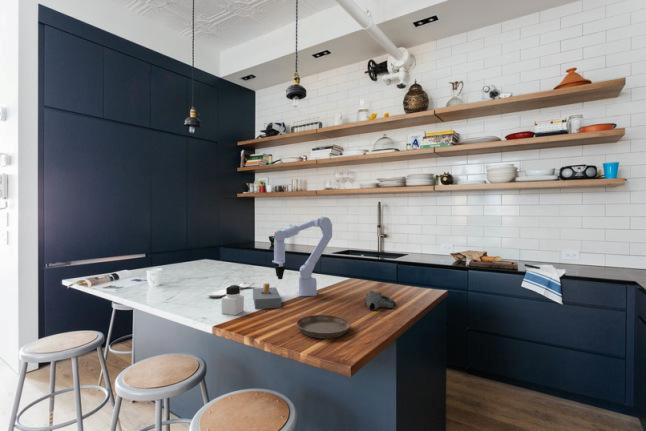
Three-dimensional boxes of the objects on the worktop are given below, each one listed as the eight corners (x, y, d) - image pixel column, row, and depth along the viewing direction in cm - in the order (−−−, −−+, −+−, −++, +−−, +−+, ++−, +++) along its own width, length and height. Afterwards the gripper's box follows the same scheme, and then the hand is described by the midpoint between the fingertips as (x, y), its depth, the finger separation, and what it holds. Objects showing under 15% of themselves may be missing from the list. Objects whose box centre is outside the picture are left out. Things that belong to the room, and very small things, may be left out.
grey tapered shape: (363, 299, 157) (396, 305, 154) (367, 286, 181) (396, 291, 178) (361, 310, 157) (394, 316, 154) (366, 295, 182) (395, 300, 178)
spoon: (255, 287, 202) (255, 281, 202) (215, 300, 173) (215, 293, 173) (243, 285, 206) (243, 280, 206) (203, 298, 177) (203, 291, 177)
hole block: (275, 295, 182) (275, 287, 182) (280, 307, 161) (281, 297, 161) (252, 296, 179) (252, 288, 179) (255, 309, 158) (255, 299, 158)
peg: (269, 300, 172) (269, 283, 172) (269, 302, 169) (269, 284, 169) (263, 301, 171) (263, 283, 171) (263, 302, 168) (263, 284, 168)
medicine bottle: (244, 311, 155) (244, 284, 154) (235, 315, 148) (235, 288, 148) (230, 309, 157) (230, 283, 157) (221, 313, 150) (221, 286, 150)
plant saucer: (347, 322, 141) (347, 314, 141) (353, 341, 121) (353, 332, 121) (297, 322, 141) (297, 314, 141) (295, 341, 120) (295, 332, 120)
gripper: (270, 251, 189) (270, 275, 189) (273, 254, 175) (273, 280, 175) (283, 250, 191) (283, 274, 191) (287, 254, 177) (286, 280, 177)
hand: (279, 277), depth 183 cm, fingers open, 7 cm apart
